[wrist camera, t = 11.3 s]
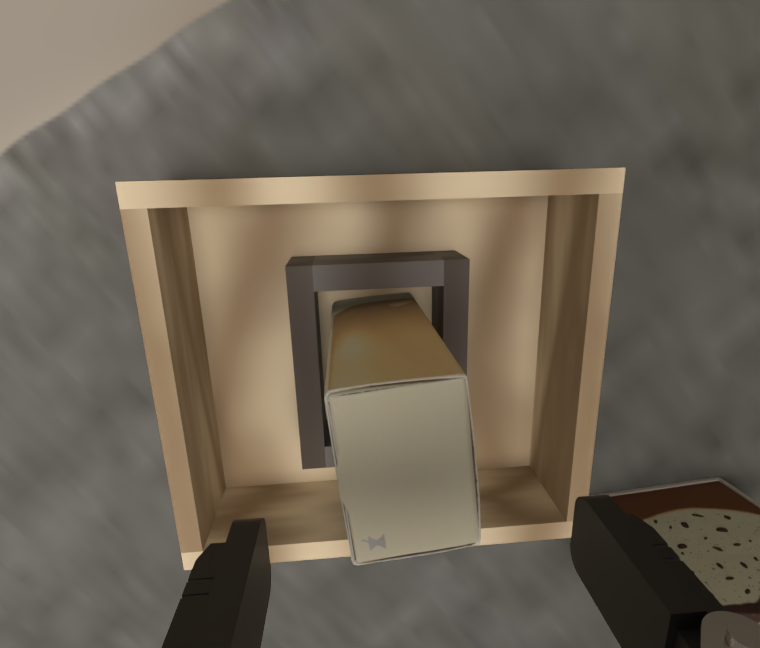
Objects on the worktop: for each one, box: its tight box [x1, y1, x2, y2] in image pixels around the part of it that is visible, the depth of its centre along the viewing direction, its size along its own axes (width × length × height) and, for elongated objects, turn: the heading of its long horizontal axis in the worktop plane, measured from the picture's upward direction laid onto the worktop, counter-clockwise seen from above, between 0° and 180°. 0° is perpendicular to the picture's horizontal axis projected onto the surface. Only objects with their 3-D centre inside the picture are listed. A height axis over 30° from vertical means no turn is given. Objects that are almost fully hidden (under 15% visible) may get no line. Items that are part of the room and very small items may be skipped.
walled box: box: [115, 168, 626, 570], centre depth 24 cm, size 20×18×6 cm
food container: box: [589, 477, 760, 624], centre depth 28 cm, size 12×6×10 cm, turn 96°
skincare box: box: [324, 292, 481, 565], centre depth 20 cm, size 6×4×12 cm
